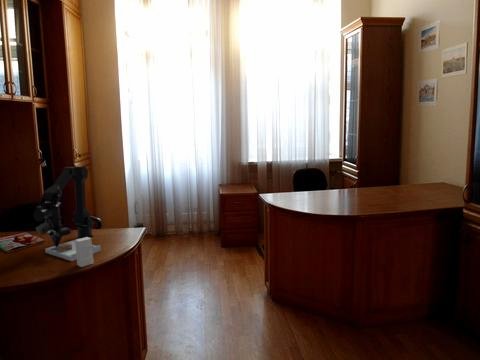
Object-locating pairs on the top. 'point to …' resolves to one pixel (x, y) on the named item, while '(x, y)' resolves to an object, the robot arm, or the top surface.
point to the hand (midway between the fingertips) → (56, 246)
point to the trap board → (70, 253)
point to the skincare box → (84, 251)
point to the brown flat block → (65, 247)
